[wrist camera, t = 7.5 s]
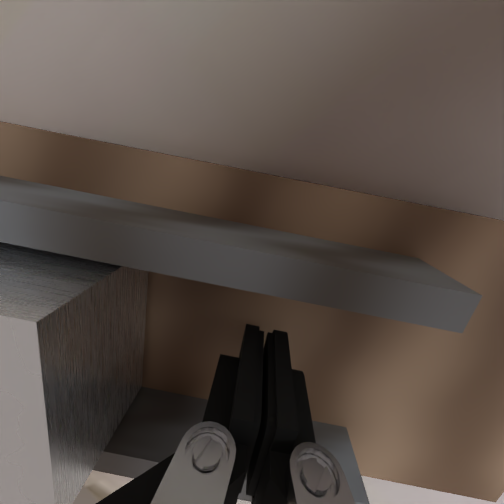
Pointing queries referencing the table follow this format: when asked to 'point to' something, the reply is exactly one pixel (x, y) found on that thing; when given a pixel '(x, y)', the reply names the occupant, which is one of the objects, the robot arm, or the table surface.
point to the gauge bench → (285, 302)
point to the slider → (64, 367)
